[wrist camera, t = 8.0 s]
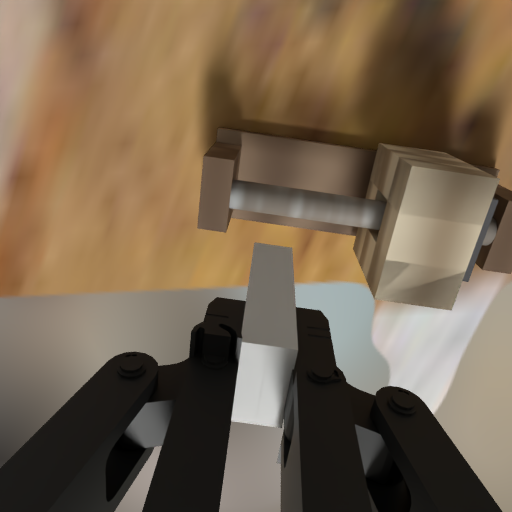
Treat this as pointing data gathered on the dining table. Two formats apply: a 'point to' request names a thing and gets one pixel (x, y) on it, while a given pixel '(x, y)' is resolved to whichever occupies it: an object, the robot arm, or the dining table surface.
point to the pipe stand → (313, 190)
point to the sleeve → (422, 225)
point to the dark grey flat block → (480, 239)
